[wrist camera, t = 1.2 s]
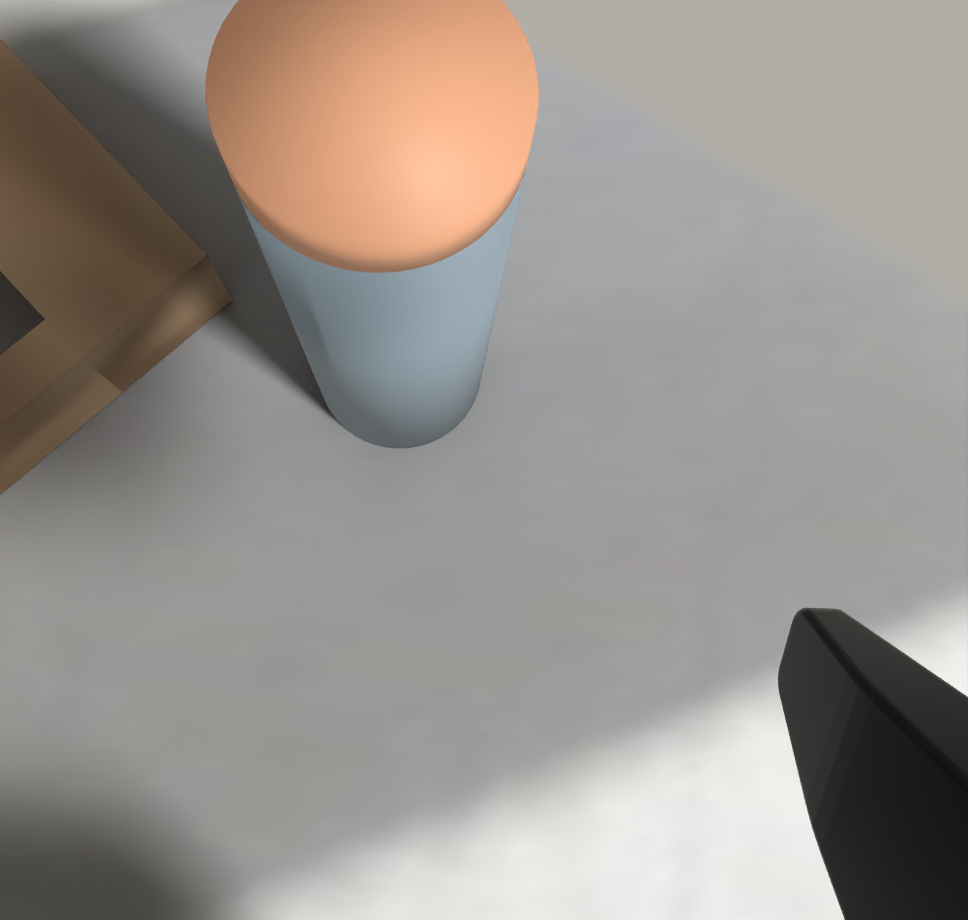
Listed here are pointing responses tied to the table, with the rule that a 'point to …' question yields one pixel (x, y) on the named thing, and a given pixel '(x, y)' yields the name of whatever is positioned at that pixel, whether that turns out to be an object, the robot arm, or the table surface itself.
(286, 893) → the table surface
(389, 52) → the peg
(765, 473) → the table surface
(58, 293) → the wooden peg holder
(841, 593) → the table surface
